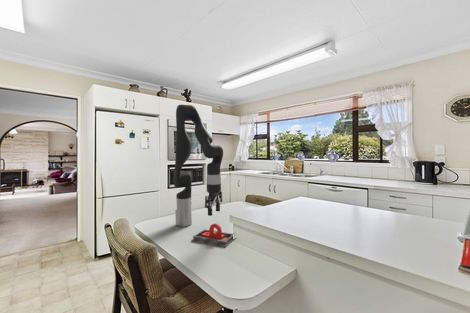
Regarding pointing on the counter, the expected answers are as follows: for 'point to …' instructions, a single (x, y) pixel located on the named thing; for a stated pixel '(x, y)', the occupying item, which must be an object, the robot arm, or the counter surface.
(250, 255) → the counter surface
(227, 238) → the plate
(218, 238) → the bracket
